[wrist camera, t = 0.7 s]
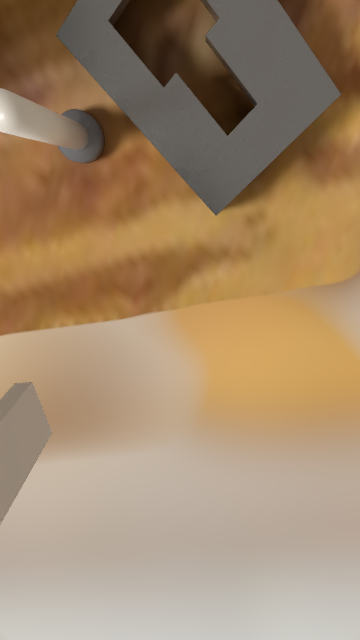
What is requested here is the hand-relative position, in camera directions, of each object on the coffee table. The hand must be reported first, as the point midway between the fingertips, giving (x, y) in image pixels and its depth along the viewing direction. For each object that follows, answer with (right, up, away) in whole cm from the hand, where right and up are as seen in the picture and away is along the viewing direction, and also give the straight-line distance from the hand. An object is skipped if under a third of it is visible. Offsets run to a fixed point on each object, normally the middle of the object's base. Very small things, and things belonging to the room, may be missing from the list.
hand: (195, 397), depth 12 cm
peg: (-11, +22, +20) cm, 32 cm away
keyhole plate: (+1, +26, +17) cm, 31 cm away
